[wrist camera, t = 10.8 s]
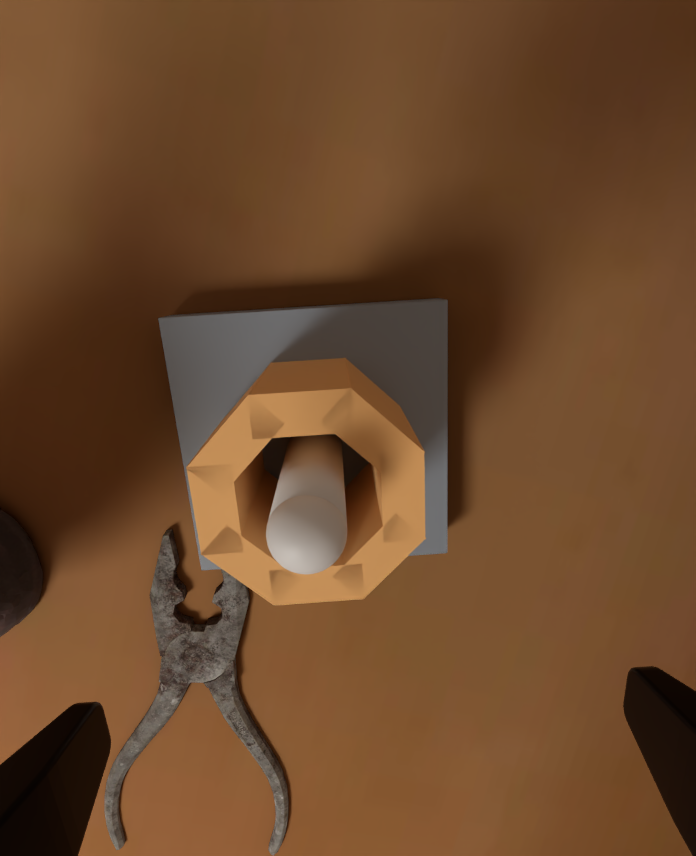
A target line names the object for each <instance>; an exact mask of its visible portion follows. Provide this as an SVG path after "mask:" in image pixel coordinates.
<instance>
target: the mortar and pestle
mask: <svg viewBox="0 0 696 856" xmlns="http://www.w3.org/2000/svg"><path fill="white" fill-rule="evenodd" d="M42 583H43V571H42V568H41V565H40V562H39V559H38V556H37V553H36V551H35V548H34V546H33V544H32V542H31V540H30V538H29V537H28V535H27V533H26V532H25V531H24V529H23V528H22V527H21V526H20V525H19V524H18V523H17V522H16V520H15V519H14V518H12V517H11V516H9V515H8V514H7V513H5V512H4V511H2V510H1V509H0V637H1V636H2V635H4V634H5V633H6V632H8V631H9V630H10V629H11V628H13V627H14V626H15V625H17V624H19V623H20V622H21V621H22V620H23V619H24V618H25V617H26V616H27V615H28V614H29V613H30V612H31V611H32V610H33V609H34V607H35V605H36V604H37V602H38V600H39V598H40V594H41V589H42Z"/></svg>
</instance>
